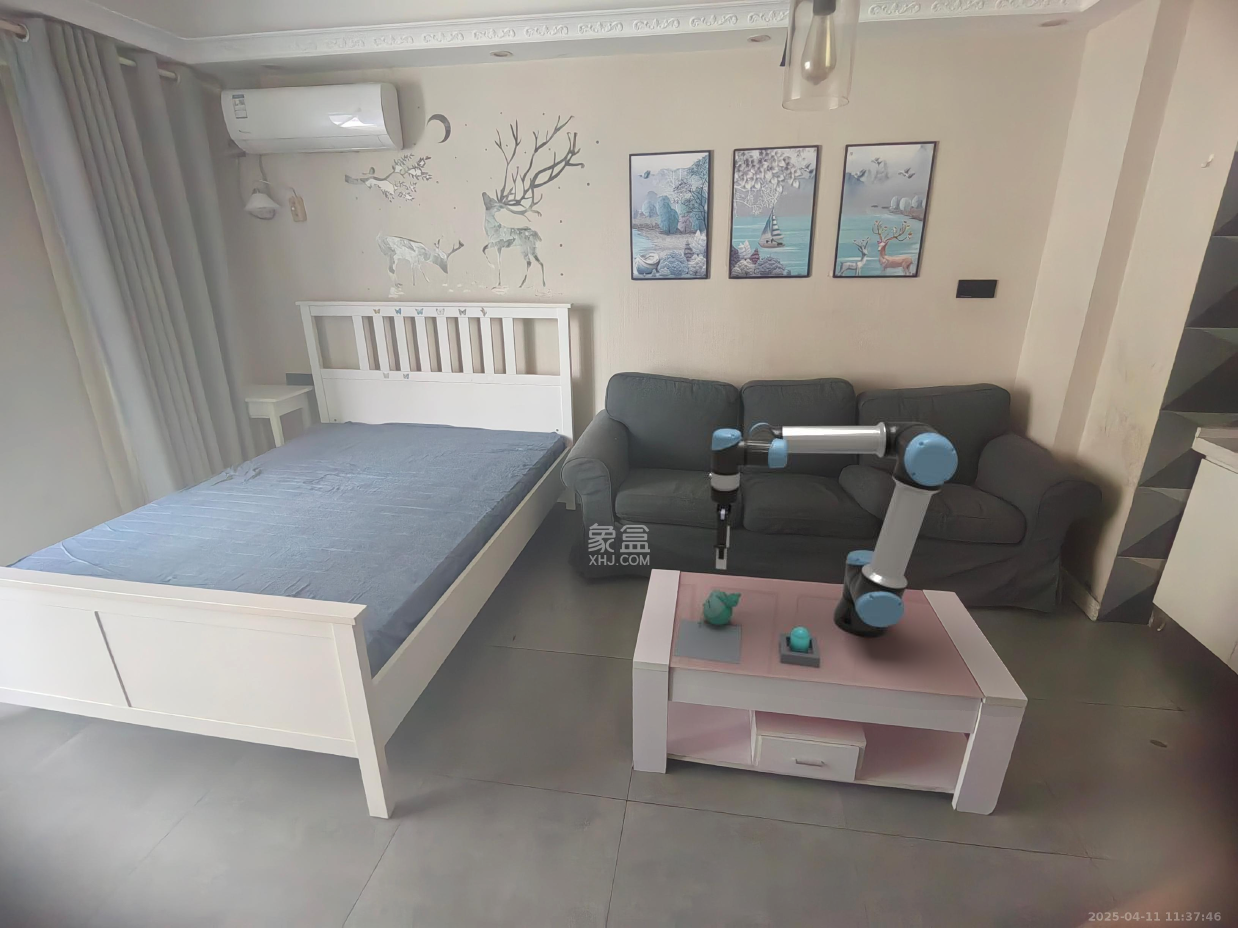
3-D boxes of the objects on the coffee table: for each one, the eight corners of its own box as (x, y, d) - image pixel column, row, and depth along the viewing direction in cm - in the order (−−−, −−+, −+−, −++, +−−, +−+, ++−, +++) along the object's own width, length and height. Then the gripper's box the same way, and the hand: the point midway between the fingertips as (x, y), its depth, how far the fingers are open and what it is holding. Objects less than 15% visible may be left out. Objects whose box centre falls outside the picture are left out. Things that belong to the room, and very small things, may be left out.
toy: (729, 586, 177) (684, 604, 182) (744, 619, 175) (698, 635, 181) (737, 579, 186) (694, 596, 192) (751, 610, 185) (708, 626, 190)
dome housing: (815, 645, 175) (816, 636, 174) (818, 667, 165) (819, 658, 164) (779, 641, 177) (780, 632, 176) (780, 663, 167) (781, 653, 166)
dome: (807, 645, 172) (809, 624, 170) (808, 656, 168) (811, 634, 165) (789, 643, 173) (791, 622, 171) (790, 653, 169) (792, 632, 166)
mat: (741, 627, 184) (741, 626, 183) (739, 664, 167) (739, 663, 167) (681, 620, 187) (681, 619, 187) (673, 656, 171) (673, 655, 170)
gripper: (714, 470, 178) (712, 537, 184) (706, 502, 155) (705, 577, 161) (740, 471, 176) (738, 538, 183) (736, 504, 153) (734, 579, 160)
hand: (722, 557), depth 172 cm, fingers open, 13 cm apart
